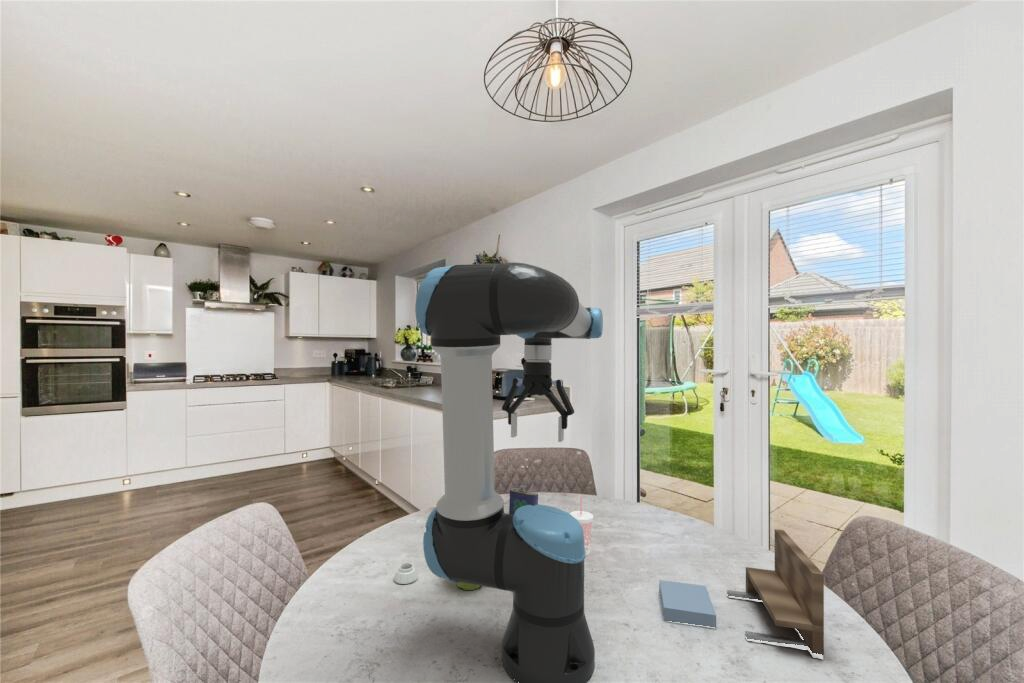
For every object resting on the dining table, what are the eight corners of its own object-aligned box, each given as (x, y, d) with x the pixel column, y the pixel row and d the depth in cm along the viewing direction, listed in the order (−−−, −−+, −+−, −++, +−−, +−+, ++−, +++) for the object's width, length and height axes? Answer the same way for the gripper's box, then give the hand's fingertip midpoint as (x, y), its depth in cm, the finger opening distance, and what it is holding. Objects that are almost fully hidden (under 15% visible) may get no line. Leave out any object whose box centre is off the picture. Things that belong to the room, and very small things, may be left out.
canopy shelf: (823, 660, 71) (823, 574, 71) (749, 648, 73) (750, 565, 74) (783, 598, 88) (783, 529, 88) (724, 590, 91) (724, 524, 91)
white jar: (390, 584, 93) (411, 587, 92) (390, 570, 93) (412, 573, 92) (400, 572, 97) (421, 575, 96) (400, 559, 98) (421, 561, 96)
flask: (539, 523, 125) (539, 486, 125) (534, 527, 122) (535, 489, 123) (511, 517, 130) (511, 481, 130) (506, 520, 127) (506, 484, 127)
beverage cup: (598, 554, 106) (598, 497, 107) (576, 558, 104) (576, 500, 104) (584, 544, 112) (585, 490, 112) (564, 548, 110) (564, 492, 110)
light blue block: (716, 631, 78) (716, 615, 78) (664, 623, 81) (664, 607, 81) (705, 600, 88) (705, 585, 88) (659, 594, 90) (659, 579, 90)
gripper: (585, 361, 117) (585, 440, 117) (501, 360, 127) (500, 432, 126) (579, 362, 110) (578, 445, 110) (490, 360, 120) (489, 437, 119)
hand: (536, 438), depth 118 cm, fingers open, 13 cm apart
